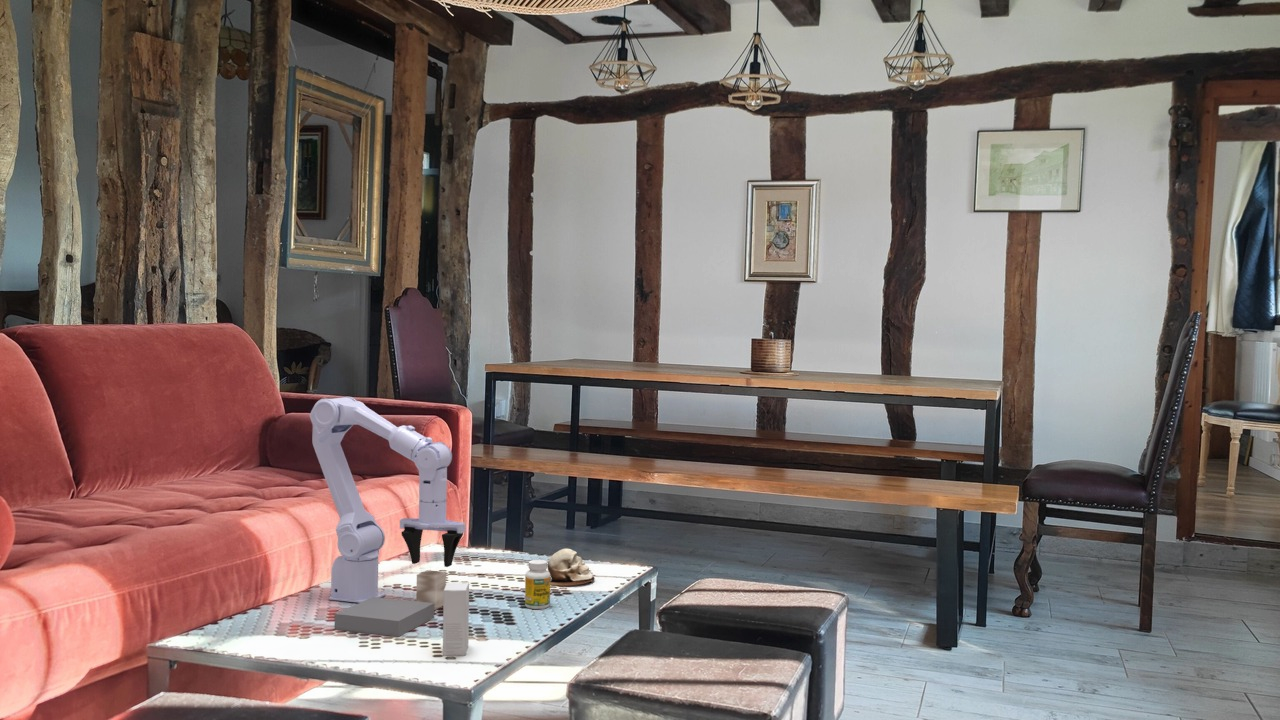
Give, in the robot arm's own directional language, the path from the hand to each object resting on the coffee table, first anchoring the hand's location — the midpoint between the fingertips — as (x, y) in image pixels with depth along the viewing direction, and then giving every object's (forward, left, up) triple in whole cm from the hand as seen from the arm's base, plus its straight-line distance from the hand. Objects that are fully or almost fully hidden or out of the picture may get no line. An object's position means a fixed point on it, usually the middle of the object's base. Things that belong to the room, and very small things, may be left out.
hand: (431, 564), depth 217 cm
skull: (+19, +32, -9) cm, 38 cm away
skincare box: (+19, -26, -9) cm, 33 cm away
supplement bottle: (+21, +8, -9) cm, 24 cm away
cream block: (0, 0, -9) cm, 9 cm away
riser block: (-2, -15, -9) cm, 18 cm away
